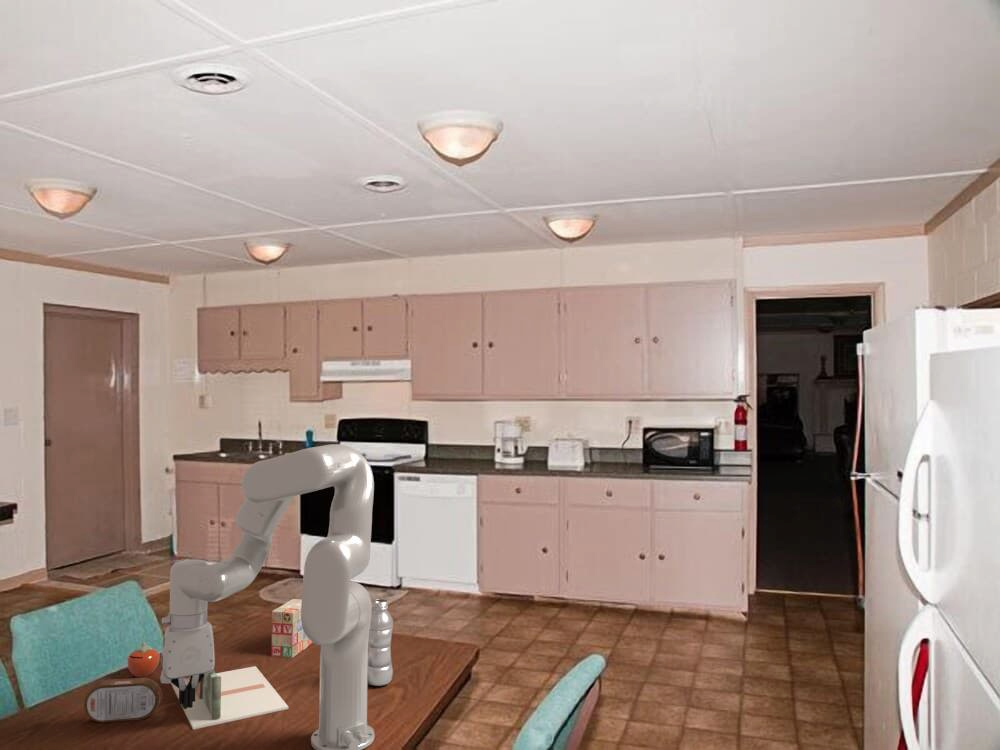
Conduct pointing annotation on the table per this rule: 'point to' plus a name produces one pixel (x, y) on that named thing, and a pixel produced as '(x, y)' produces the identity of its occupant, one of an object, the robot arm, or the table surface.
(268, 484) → the robot arm
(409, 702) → the table surface
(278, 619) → the stack of blocks
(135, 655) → the tomato
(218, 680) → the swing panel
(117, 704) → the tin
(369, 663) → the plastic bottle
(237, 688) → the card
